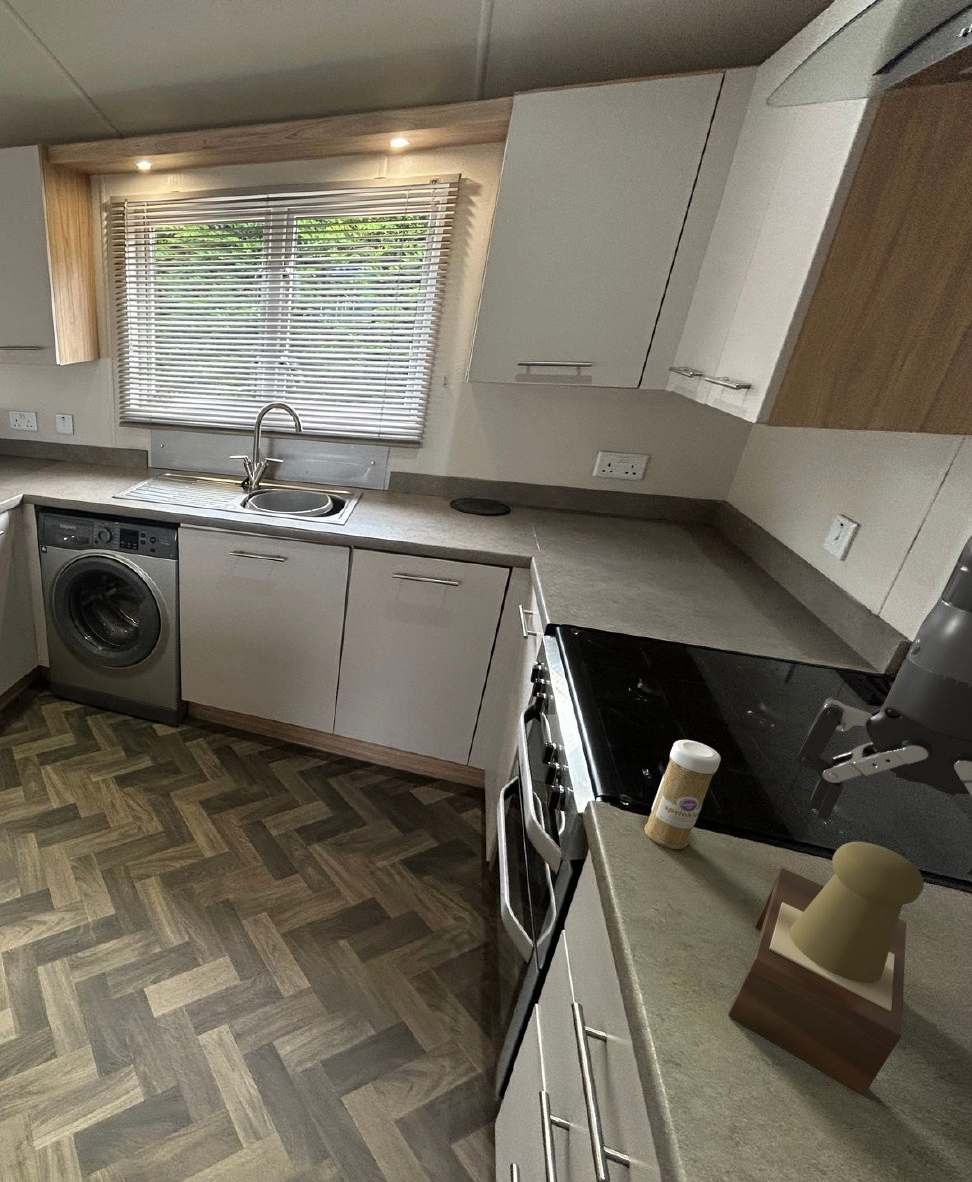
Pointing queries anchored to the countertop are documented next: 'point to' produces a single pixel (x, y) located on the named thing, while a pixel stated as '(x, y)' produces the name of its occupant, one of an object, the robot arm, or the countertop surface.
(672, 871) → the countertop surface
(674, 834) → the sprinkles bottle
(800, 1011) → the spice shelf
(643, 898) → the countertop surface
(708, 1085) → the countertop surface
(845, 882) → the cork
